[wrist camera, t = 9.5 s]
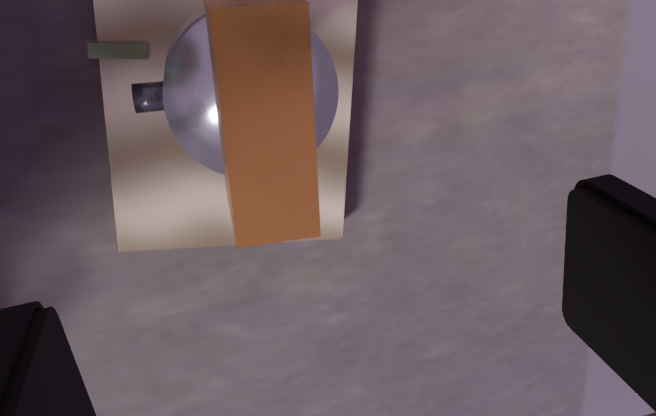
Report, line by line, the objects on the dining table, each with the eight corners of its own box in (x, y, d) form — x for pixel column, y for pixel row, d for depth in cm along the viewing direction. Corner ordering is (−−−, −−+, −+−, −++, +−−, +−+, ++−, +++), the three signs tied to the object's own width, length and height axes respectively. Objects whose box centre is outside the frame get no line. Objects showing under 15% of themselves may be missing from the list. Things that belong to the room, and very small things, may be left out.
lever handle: (317, -21, 26) (372, -2, 19) (325, 155, 30) (374, 229, 22) (119, -9, 25) (95, 16, 17) (151, 175, 28) (142, 261, 21)
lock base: (335, 226, 42) (372, 295, 34) (112, 237, 39) (95, 317, 31) (359, -185, 32) (420, -224, 24) (65, -215, 29) (24, -271, 21)
